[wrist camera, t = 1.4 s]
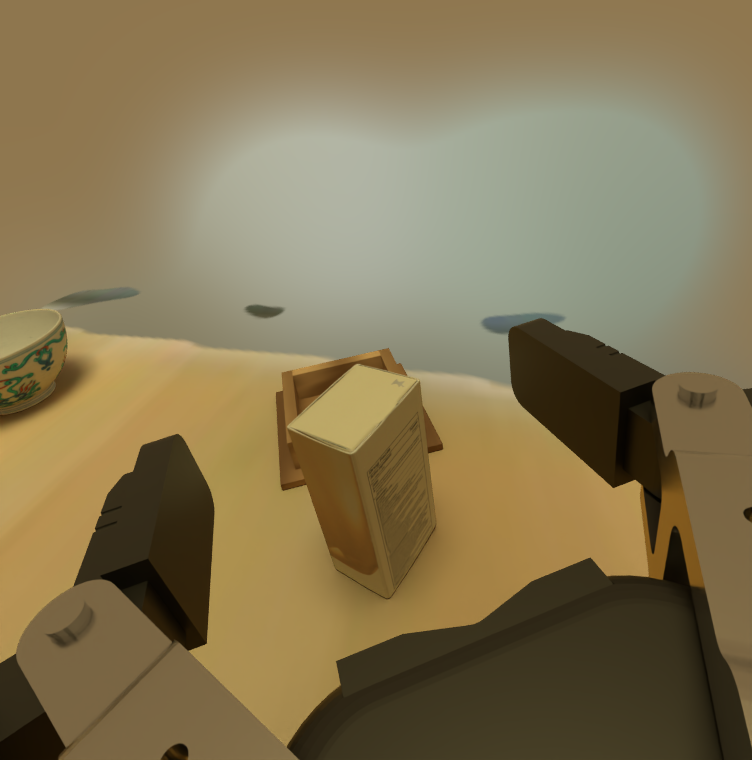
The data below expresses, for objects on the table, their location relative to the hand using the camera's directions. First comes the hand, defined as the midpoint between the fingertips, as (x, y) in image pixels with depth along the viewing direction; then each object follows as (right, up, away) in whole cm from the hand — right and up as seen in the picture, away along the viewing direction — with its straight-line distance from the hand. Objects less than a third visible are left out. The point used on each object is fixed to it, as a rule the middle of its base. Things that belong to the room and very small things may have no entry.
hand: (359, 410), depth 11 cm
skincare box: (+1, -10, +19) cm, 22 cm away
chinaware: (-41, -1, +43) cm, 59 cm away
